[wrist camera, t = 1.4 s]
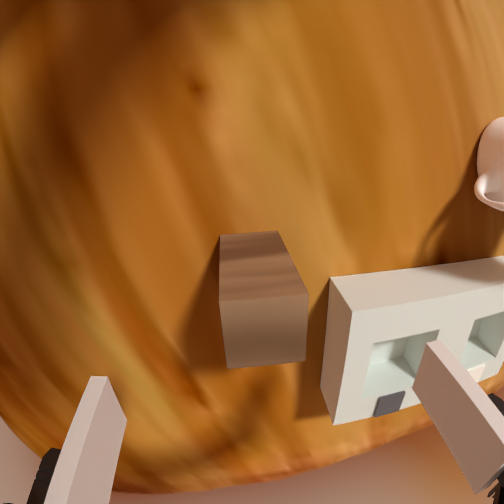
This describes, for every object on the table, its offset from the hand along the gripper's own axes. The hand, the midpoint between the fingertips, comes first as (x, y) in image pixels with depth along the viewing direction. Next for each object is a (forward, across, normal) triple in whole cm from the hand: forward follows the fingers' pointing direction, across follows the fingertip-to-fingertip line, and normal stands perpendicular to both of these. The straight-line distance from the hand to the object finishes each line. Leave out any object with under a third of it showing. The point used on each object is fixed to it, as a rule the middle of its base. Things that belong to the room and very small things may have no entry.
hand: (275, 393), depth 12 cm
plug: (+13, 0, 0) cm, 13 cm away
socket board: (+13, +16, -8) cm, 22 cm away
